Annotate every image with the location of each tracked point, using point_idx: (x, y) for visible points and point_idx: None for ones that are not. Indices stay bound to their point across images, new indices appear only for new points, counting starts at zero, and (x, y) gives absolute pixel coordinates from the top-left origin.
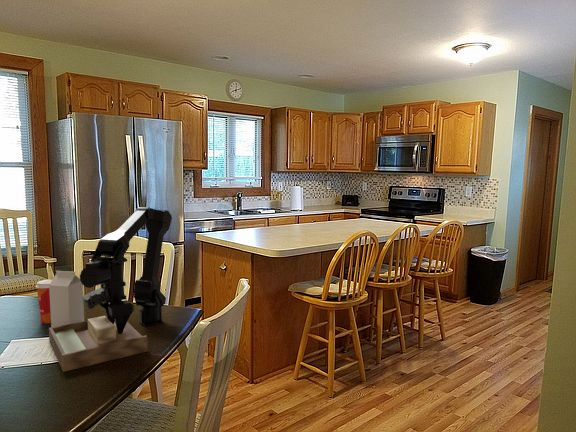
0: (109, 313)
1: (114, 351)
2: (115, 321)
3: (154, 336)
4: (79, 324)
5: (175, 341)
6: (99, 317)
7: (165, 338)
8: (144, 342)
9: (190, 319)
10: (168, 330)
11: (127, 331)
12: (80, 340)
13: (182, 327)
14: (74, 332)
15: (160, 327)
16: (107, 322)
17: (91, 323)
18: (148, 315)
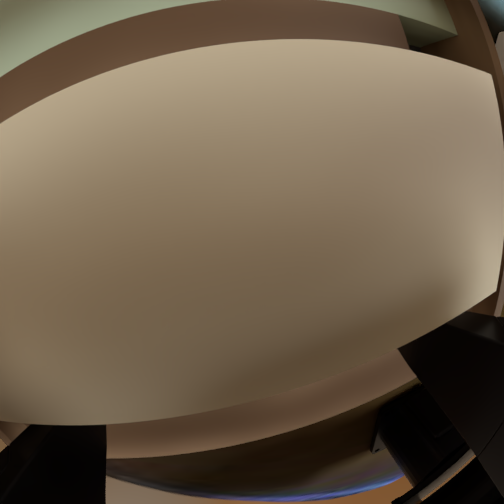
0: (479, 368)
1: None
2: (1, 473)
3: (235, 452)
4: (486, 71)
5: (149, 487)
6: (491, 227)
7: (192, 475)
8: None
9: (341, 491)
10: (281, 475)
11: (233, 410)
12: (168, 8)
13: (285, 494)
14: (400, 11)
15: (332, 452)
16: (200, 370)
17: (281, 43)
18: (409, 444)
